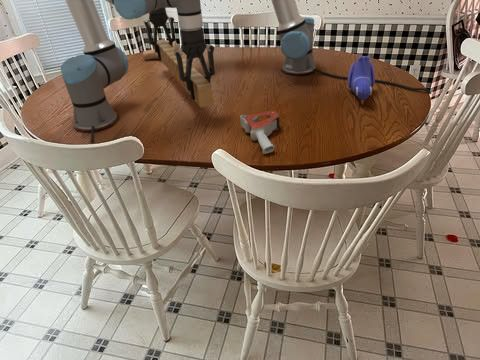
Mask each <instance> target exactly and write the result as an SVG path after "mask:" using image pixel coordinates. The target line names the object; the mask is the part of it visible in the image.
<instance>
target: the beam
mask: <svg viewBox="0 0 480 360" xmlns="http://www.w3.org/2000/svg"><path fill="white" fill-rule="evenodd" d="M157 44H158V45H159V50H160V55H161V60H160V61H161V63H162V64H163V65H165V67H166V68H167V70H168V71H169V72H170V74H172V75H173V77H174V78H175V79H176V80H177V82H178V83H179V84H180V85H181V86H182V87H183V88H184V90H185V91H186V92H187V93H188V94H189V95H190V91H188V90H187V86H186V82H185V81H182V80H181V79H180V76H179V70H178V64H177V58H176V56H175V54H174V51H175V49H174V48H173V47H172V46H171V45H170V44H169V43H168V42H167V40H166V39H165V38H162V39H157ZM157 56H158V54H157ZM181 58H182V62H183V69H184V76H185V73H186V61H187V60H186V58H185V57H184V56H182V57H181ZM204 77H205V76H204V75H202V74H201V73H200V72H199V71H198V70H197V69H196V68H195V67H194V66H193V65H192V69H191V81H192V82H193V88H194V95H195V100H194V101H195V102H196V104H197V105H198V106H199V107H200V108H205V107H209V106H213V105H214V96H213V87H212V82H211V81H210V82H211V83H210V82H209V81H207V80H206V79H205V78H204Z"/></svg>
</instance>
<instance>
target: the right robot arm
mask: <svg viewBox="0 0 480 360" xmlns="http://www.w3.org/2000/svg"><path fill="white" fill-rule="evenodd" d="M270 1H271V2H272V6H273V9H274V12H275V16H276V18H277V21H278V26H277V29H276V31H277V34H278V36H279V40H280V51H281V53H282V54H283V56H285V57H284V61H283V63H282V69H281V71H282V72H283V73H284V74H286V75H290V76H305V75H306V76H307V75H311V74H313V73H314V72H317V73H319V74H323V75H326V76H329V77H333V78H338V79H342V80H348V76H343V75H338V74H333V73H329V72H326V71H324V70H320V69H318V68H316V63H315V59H314V55H313V50H314V49H313V47H314V33H315V25H316V23H315V19H314V18H313V17H310V16H302V15H300V11H299V9H298V6H297V2H296V0H270ZM167 22H169V28H170V32H169V29H168V27H167V25H166V24H167ZM150 23H151V24H152V25H153V27H152V28H153V34H152V33H151V27H150V25H151V24H150ZM143 24H144V26H145V30H146V35H147V40H148V43H149V45H150V46H153V49H154V50H155V52H156V53H157V54H158V58H157V59H158V60H159V61H161V55H160V50H159V45H158V44H157V40H158V30H159V28H161V27H162V28H163V31H164V34H165V36H166V38H167V40H168V41H169V42H168V43H169V44H170V45H171V46H172V47H173V44H172V43H173V42H177V37H176V29H175V18H174V17H173V16H169V15H168V14H167V8H160V9H158V10H155V11H153V12H150V13H148V19H147V20H143ZM170 34H171V35H170ZM152 35H153V36H152ZM374 83H381V84H387V85H390V86H391V85H392V86H396V87H400V88H403V89H406V90H410V91H424V92H426V93H427V94H429V95H432V92H431V90H429V89H428V88H426V87H412V86H408V85H405V84H400V83H397V82H392V81H387V80H382V79H376V78H375V82H374Z"/></svg>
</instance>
